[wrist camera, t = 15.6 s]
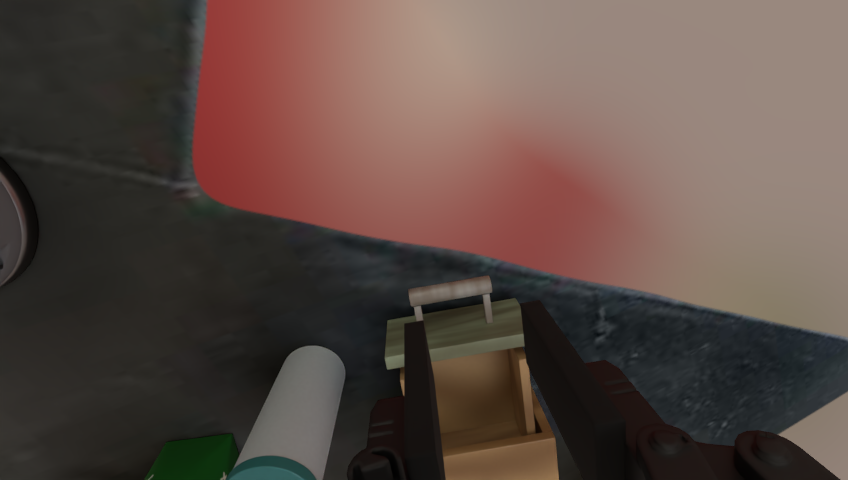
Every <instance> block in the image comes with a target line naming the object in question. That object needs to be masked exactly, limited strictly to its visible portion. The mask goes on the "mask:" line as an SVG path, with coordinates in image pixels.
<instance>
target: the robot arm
mask: <svg viewBox="0 0 848 480" xmlns="http://www.w3.org/2000/svg"><path fill="white" fill-rule="evenodd" d="M37 240H38V224H37V218H36V213H35V210H34V207H33V204H32V201H31V199H30V197H29V195H28V193H27V191H26V189H25V187H24V186H23V184H22V182H21V181H20V179H19V178H18V177H17V175H16V174H15V173H14V171H13V170H12V169H11V168H10V167H9V166H8V165H7V164H6V163H5V162H4V161H3V160H2V159H1V158H0V287H2V286H4V285H6V284H8V283H10V282H12V281H13V280H15V279H16V278H17V277H18V276H20V275H21V274H22V273H23V272H24V271H25V269H26V268H27V267H28V265H29V264H30V262H31V260H32V258H33V256H34V253H35V250H36V246H37ZM520 306H521V316H522V325H523V335H524V344H525V353H526V363H527V365H528V367H529V369H530V371H531V373H532V375H533V377H534V379H535V381H536V383H537V385H538V387H539V389H540V392H541V394H542V396H543V398H544V400H545V402H546V404H547V406H548V408H549V410H550V412H551V414H552V416H553V418H554V420H555V422H556V424H557V426H558V428H559V430H560V433H561V435H562V437H563V439H564V441H565V443H566V445H567V447H568V449H569V451H570V453H571V455H572V457H573V459H574V461H575V463H576V465H577V467H578V469H579V471H580V474H581V476H582V478H583V480H840V479H839V478H838V477H836V476H835V475H834V474H833V473H831V472H830V471H829V470H827V469H826V468H825V467H824V466H823V465H821V464H820V463H819V462H818V461H816V460H815V459H814V458H813V457H811V456H810V455H809V454H807V453H806V452H805V451H804V450H803V449H801V448H800V447H799V446H797V445H796V444H794V443H793V442H791V441H789V440H787V439H786V438H784V437H781V436H779V435H776V434H773V433H770V432H764V431H759V430H757V431H746V432H743V433H741V434H739V435H738V436H737V438H736V440H735V446H725V445H713V444H705V443H699V442H695V441H694V440H693V439H692V438H691V437H690V435H688V434H687V433H685V432H684V431H682V430H681V429H679V428H676V427H673V426H670V425H668V424H665V423H664V421H663V420H662V419H661V418H660V417H659V415H658V414H657V413H656V412H655V411H654V410H653V408H652V407H651V406H650V405H649V404H648V402H647V401H646V400H645V399H644V398H643V396H642V395H641V394H640V393H639V392H638V391H636V388H635V387H634V386H633V384H632V383H631V382H629V380H628V378H627V377H626V376H625V375H624V374H623V373H622V371H621V370H620V369H619V368H617V367H616V366H614V365H612V364H611V363H609V362H607V361H606V360H603V361H597V362H591V363H584V362H583V360H582V359H581V358H580V356H579V355H578V353H577V352H576V351H575V349H574V348H573V346H572V345H571V344H570V342H569V341H568V339H567V338H566V337H565V335H564V334H563V332H562V331H561V330H560V328H559V327H558V326H557V324H556V323H555V321H554V320H553V319H552V317H551V316H550V314H549V313H548V312H547V310H546V309H545V307H544V306H543V305H542V303H541V302H540V300H538V301H532V302H526V303H520ZM347 477H348V480H446V477H445V469H444V460H443V451H442V442H441V433H440V425H439V416H438V407H437V398H436V389H435V381H434V374H433V369H432V364H431V358H430V353H429V348H428V343H427V337H426V332H425V327H424V321H423V320H422V321H416V322H410V323H405V324H404V396H399V397H394V398H388V399H382V400H378V401H377V403H376V404H375V406H374V408H373V409H372V411H371V414H370V423H369V432H368V441H367V448H366V449H364V450H362V451H361V452H359V453H358V454H357V455H356V456H355V457H354V458H353V459H352V461H351V463H350V464H349V466H348V472H347Z"/></svg>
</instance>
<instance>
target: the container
mask: <svg viewBox="0 0 848 480" xmlns="http://www.w3.org/2000/svg"><path fill="white" fill-rule="evenodd" d="M344 380H345V367H344V364H343V362H342V361H341V359H340V358H339V357H338V356H337V355H336V354H335V353H334V352H332V351H331V350H329V349H327V348H324V347H320V346H305V347H301V348H298V349H297V350H295V351H293V352H292V353H291V354H290V355H289V356H288V357H287V358H286V360H285V362H284V364H283V366H282V368H281V370H280V372H279V374H278V376H277V378H276V380H275V382H274V385H273V387H272V389H271V391H270V393H269V395H268V397H267V399H266V401H265V403H264V405H263V408H262V410H261V412H260V414H259V416H258V418H257V420H256V422H255V424H254V426H253V429H252V431H251V433H250V435H249V437H248V439H247V441H246V443H245V445H244V447H243V449H242V452H241V454H240V456H239V458H238V460H237V462H236V464H235V466H234V468H233V470H232V471H231V472H230V473H229V475H228V476H227V478H226V480H323V476H324V471H325V467H326V462H327V457H328V453H329V448H330V444H331V439H332V435H333V430H334V426H335V421H336V417H337V412H338V408H339V403H340V399H341V394H342V390H343V385H344Z"/></svg>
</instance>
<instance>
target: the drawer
mask: <svg viewBox="0 0 848 480" xmlns="http://www.w3.org/2000/svg"><path fill="white" fill-rule="evenodd" d="M408 292H409V299H410V304H411V306H414V311H415V316H409V317H404V318H398V319H392V320H388V321H387V333H386V346H385V362H386V366H387V370H389V369H394V368H400V383H401V388H402V392H403V396H404V324H405V323H410V322H416V321H422V320H423V321H424V327H425V332H426V337H427V343H428V348H429V353H430V358H431V364H432V369H433V374H434V381H435V389H436V398H437V407H438V416H439V425H440V433H441V442H442V450H443V449H449V448H455V447H461V446H466V445H472V444H478V443H484V442H490V441H496V440H501V439H507V438H513V437H519V436H525V435H531V434H536V432H535V422H534V412H533V403H532V393H531V384H530V374H529V367H528V365H527V363H526V354H525V352H524V350H523V348H522V346H525V344H524V335H523V325H522V316H521V307H520V305H519V303H518V302H517V300H516V298H514V299H508V300H502V301H496V302H491V301H490V294H489V293H492V285H491V280H490V277H489V276H482V277H476V278H471V279H465V280H459V281H453V282H447V283H442V284H436V285H430V286H424V287H419V288H413V289H409V290H408ZM481 294H482V299H483V304H479V305H473V306H467V307H461V308H456V309H450V310H444V311H438V312H433V313H427V314H422V309H421V305H424V304H429V303H435V302H441V301H447V300H452V299H458V298H464V297H470V296H476V295H481Z"/></svg>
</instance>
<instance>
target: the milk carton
mask: <svg viewBox="0 0 848 480" xmlns="http://www.w3.org/2000/svg"><path fill="white" fill-rule="evenodd" d="M238 458H239V453H238V450H237V447H236V444H235V440H234V437H233V434H225V435H217V436H209V437H202V438H194V439H186V440H178V441H171V442H166V444H165V445H164V447H163V449H162V450H161V452H160V454H159V455H158V457H157V459H156V461H155V462H154V464H153V466H152V467H151V469H150V471H149V472H148V474H147V476H146V477H145V479H144V480H226V478H227V476H228V475H229V473H230V472H231V471H232V470H233V468H234V466H235V464H236V462H237V460H238Z"/></svg>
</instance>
